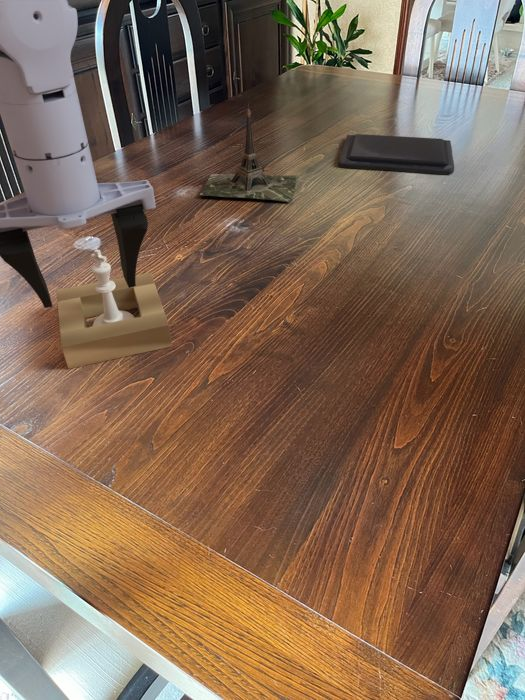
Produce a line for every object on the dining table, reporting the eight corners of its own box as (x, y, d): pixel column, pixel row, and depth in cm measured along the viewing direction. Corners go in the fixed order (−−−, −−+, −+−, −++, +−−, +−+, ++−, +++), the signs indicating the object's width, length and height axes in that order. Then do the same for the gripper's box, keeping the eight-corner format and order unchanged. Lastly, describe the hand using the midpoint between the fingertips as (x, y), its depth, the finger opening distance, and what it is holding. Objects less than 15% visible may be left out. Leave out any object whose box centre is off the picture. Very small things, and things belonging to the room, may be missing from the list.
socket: (62, 310, 66) (56, 289, 64) (154, 292, 68) (150, 272, 66) (68, 369, 58) (61, 347, 56) (172, 346, 60) (168, 324, 58)
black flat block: (336, 156, 96) (347, 127, 107) (335, 167, 97) (346, 137, 109) (455, 165, 92) (454, 134, 104) (453, 176, 94) (452, 144, 105)
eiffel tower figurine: (197, 199, 88) (189, 112, 80) (211, 174, 96) (204, 92, 87) (291, 204, 87) (292, 115, 78) (297, 177, 94) (299, 94, 86)
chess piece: (110, 311, 65) (92, 235, 59) (145, 320, 64) (131, 244, 57) (83, 334, 62) (61, 257, 56) (120, 346, 60) (101, 267, 54)
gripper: (-50, 183, 38) (11, 336, 47) (154, 148, 42) (176, 294, 51) (-51, 149, 43) (5, 293, 52) (133, 120, 47) (156, 258, 56)
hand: (89, 291), depth 52 cm, fingers open, 7 cm apart
